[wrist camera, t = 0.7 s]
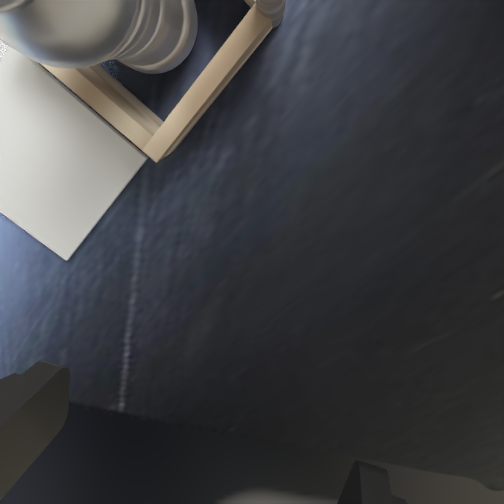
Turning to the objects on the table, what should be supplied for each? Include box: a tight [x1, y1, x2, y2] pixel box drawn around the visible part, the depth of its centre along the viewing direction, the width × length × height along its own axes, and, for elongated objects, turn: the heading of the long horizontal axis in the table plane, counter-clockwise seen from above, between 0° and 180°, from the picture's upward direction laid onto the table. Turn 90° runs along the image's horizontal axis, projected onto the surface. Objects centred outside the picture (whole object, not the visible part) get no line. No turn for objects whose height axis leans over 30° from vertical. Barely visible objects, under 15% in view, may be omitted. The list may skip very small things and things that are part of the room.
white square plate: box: [0, 46, 148, 261], centre depth 32 cm, size 12×12×1 cm
